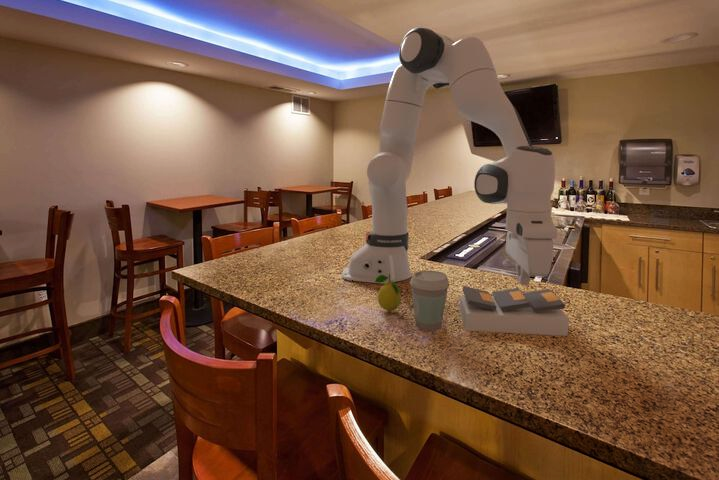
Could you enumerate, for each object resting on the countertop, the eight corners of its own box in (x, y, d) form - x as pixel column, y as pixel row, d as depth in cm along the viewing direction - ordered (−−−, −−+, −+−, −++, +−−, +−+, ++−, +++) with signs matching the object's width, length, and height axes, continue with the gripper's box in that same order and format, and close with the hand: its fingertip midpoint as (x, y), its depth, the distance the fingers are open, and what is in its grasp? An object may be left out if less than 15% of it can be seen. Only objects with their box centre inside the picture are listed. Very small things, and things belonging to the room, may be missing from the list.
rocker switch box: (465, 330, 81) (466, 313, 80) (459, 310, 91) (460, 295, 91) (567, 335, 78) (569, 318, 77) (548, 314, 88) (550, 298, 88)
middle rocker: (501, 311, 80) (501, 306, 80) (492, 295, 89) (492, 291, 89) (530, 306, 79) (529, 302, 79) (518, 291, 88) (518, 287, 88)
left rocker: (467, 304, 81) (469, 299, 81) (462, 289, 90) (463, 285, 89) (495, 310, 80) (496, 306, 80) (487, 295, 89) (488, 291, 89)
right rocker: (535, 312, 79) (534, 307, 79) (523, 296, 88) (522, 292, 88) (565, 308, 78) (564, 303, 78) (549, 292, 87) (549, 288, 87)
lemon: (375, 307, 94) (374, 269, 92) (397, 306, 95) (398, 268, 92) (378, 318, 88) (378, 278, 85) (402, 316, 88) (403, 277, 86)
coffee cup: (419, 314, 89) (420, 267, 87) (453, 323, 84) (455, 273, 82) (402, 328, 82) (403, 277, 80) (438, 338, 78) (440, 284, 75)
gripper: (501, 215, 90) (497, 269, 93) (526, 231, 71) (520, 299, 74) (528, 215, 89) (523, 269, 92) (561, 232, 70) (554, 300, 73)
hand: (522, 283), depth 83 cm, fingers closed
